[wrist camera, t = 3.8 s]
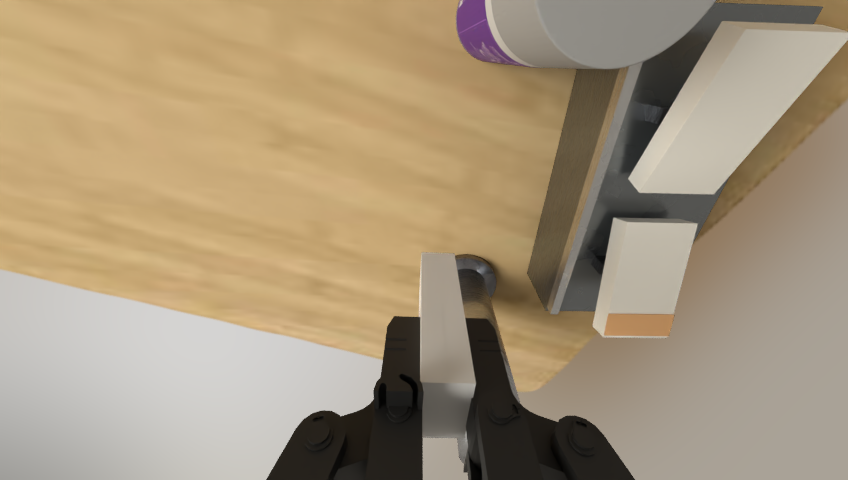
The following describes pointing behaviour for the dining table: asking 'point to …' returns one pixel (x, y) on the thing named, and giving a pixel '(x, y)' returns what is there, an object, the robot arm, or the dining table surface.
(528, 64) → the container
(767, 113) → the paddle
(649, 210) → the grey channel rail
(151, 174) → the dining table surface
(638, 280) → the paddle
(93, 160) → the dining table surface
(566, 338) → the dining table surface
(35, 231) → the dining table surface
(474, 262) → the post
